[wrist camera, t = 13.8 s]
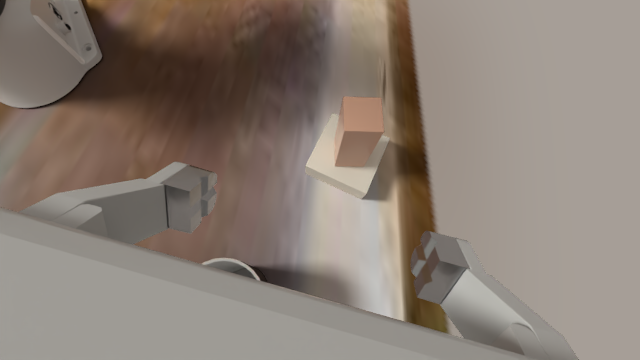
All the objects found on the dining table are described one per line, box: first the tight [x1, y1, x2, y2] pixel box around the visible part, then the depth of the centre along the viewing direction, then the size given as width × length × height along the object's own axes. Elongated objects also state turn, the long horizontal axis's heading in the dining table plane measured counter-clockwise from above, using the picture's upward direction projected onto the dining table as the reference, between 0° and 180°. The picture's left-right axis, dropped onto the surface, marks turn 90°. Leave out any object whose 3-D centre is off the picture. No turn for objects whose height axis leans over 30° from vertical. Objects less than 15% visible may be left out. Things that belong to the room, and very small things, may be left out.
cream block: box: [305, 113, 390, 199], centre depth 38 cm, size 9×9×4 cm
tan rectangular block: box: [334, 97, 384, 167], centre depth 32 cm, size 4×4×10 cm
